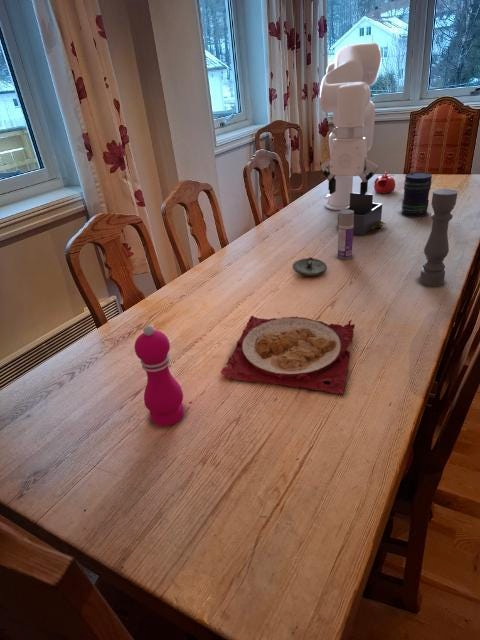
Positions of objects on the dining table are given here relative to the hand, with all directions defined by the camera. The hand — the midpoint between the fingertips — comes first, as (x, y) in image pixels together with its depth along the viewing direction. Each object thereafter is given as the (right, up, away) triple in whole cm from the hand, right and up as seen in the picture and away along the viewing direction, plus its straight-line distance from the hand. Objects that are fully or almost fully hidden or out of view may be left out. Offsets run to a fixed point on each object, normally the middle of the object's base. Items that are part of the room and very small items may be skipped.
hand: (347, 193), depth 131 cm
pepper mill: (-47, -57, -48) cm, 88 cm away
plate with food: (-21, -46, -34) cm, 61 cm away
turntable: (+13, -3, +33) cm, 36 cm away
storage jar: (+38, +4, +43) cm, 57 cm away
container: (+2, -18, +11) cm, 21 cm away
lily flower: (+17, -3, +33) cm, 38 cm away
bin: (+13, -3, +33) cm, 36 cm away
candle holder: (+21, -28, -10) cm, 36 cm away
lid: (-11, -24, +3) cm, 26 cm away
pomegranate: (+36, +23, +74) cm, 85 cm away
